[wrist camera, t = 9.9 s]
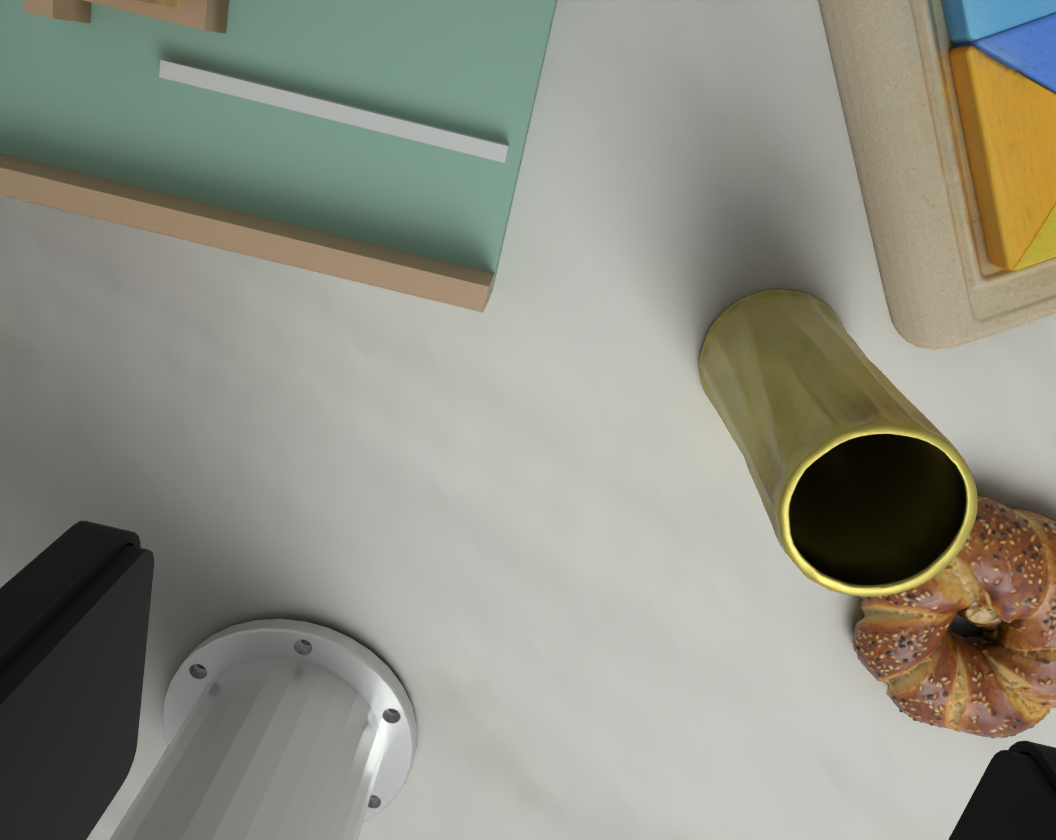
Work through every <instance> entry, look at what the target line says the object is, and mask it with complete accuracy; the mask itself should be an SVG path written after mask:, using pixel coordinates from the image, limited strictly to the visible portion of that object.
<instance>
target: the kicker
mask: <svg viewBox="0 0 1056 840" xmlns="http://www.w3.org/2000/svg"><path fill="white" fill-rule="evenodd" d="M91 2H92V3H96V4H100V5H104V6H108V7H112V8H116V9H120V10H124V11H128V12H132V13H136V14H140V15H144V16H148V17H152V18H156V19H160V20H164V21H168V22H172V23H176V24H180V25H184V26H188V27H192V28H196V29H200V30H204V31H211V32H218V33H225V34H226V29H227V19H228V10H229V0H24V12H28V13H32V14H36V15H40V16H44V17H48V18H52V19H59V20H67V21H75V22H83V23H90V19H91Z"/></svg>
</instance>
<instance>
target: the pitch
mask: <svg viewBox="0 0 1056 840" xmlns="http://www.w3.org/2000/svg"><path fill="white" fill-rule="evenodd" d="M556 4H557V0H229V10H228V19H227V29H226V34H225V33H218V32H211V31H204V30H200V29H196V28H192V27H188V26H184V25H180V24H176V23H172V22H168V21H164V20H160V19H156V18H152V17H148V16H144V15H140V14H136V13H132V12H128V11H124V10H120V9H116V8H112V7H108V6H104V5H100V4H96V3H92V2H91V19H90V23H83V22H75V21H67V20H59V19H52V18H48V17H44V16H40V15H36V14H32V13H28V12H24V0H0V195H3V196H7V197H11V198H15V199H19V200H23V201H28V202H32V203H36V204H40V205H44V206H48V207H52V208H56V209H60V210H65V211H69V212H73V213H77V214H81V215H85V216H89V217H93V218H97V219H102V220H106V221H110V222H114V223H118V224H122V225H126V226H130V227H134V228H139V229H143V230H147V231H151V232H155V233H159V234H163V235H167V236H171V237H176V238H180V239H184V240H188V241H192V242H196V243H200V244H204V245H208V246H213V247H217V248H221V249H225V250H229V251H233V252H237V253H241V254H245V255H249V256H254V257H258V258H262V259H266V260H270V261H274V262H278V263H282V264H286V265H291V266H295V267H299V268H303V269H307V270H311V271H315V272H319V273H323V274H328V275H332V276H336V277H340V278H344V279H348V280H352V281H356V282H360V283H365V284H369V285H373V286H377V287H381V288H385V289H389V290H393V291H397V292H402V293H406V294H410V295H414V296H418V297H422V298H426V299H430V300H434V301H439V302H443V303H447V304H451V305H455V306H459V307H463V308H467V309H471V310H475V311H480V312H483V311H484V309H485V307H486V305H487V302H488V300H489V298H490V296H491V293H492V291H493V286H494V282H495V277H496V273H497V268H498V264H499V259H500V255H501V250H502V246H503V241H504V237H505V232H506V228H507V223H508V219H509V214H510V210H511V205H512V201H513V196H514V192H515V187H516V183H517V178H518V174H519V170H520V165H521V161H522V156H523V152H524V147H525V143H526V138H527V134H528V129H529V125H530V120H531V116H532V111H533V107H534V102H535V98H536V93H537V89H538V84H539V80H540V75H541V71H542V66H543V62H544V57H545V53H546V48H547V44H548V40H549V35H550V31H551V26H552V22H553V17H554V13H555V8H556Z"/></svg>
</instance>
